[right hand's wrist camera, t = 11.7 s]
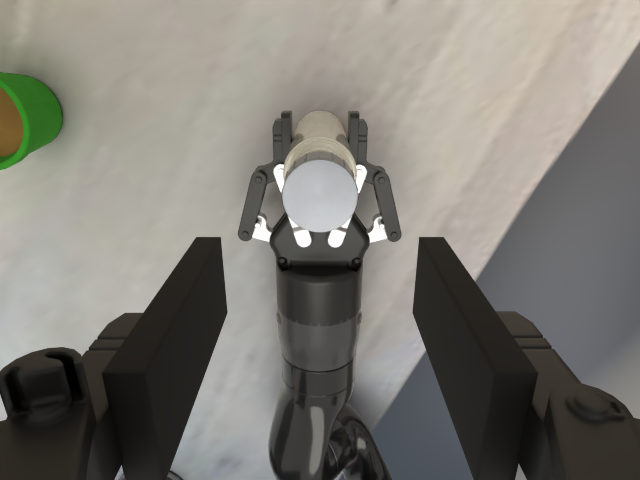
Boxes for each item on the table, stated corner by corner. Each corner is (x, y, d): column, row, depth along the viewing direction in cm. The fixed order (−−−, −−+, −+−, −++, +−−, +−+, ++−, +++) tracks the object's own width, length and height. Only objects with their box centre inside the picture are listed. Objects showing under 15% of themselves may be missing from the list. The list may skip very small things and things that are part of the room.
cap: (369, 196, 25) (373, 208, 23) (309, 232, 26) (309, 247, 24) (331, 135, 24) (332, 142, 22) (269, 176, 24) (265, 186, 22)
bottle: (353, 142, 41) (380, 207, 23) (313, 169, 42) (307, 250, 24) (327, 100, 40) (333, 133, 22) (285, 128, 41) (258, 182, 23)
